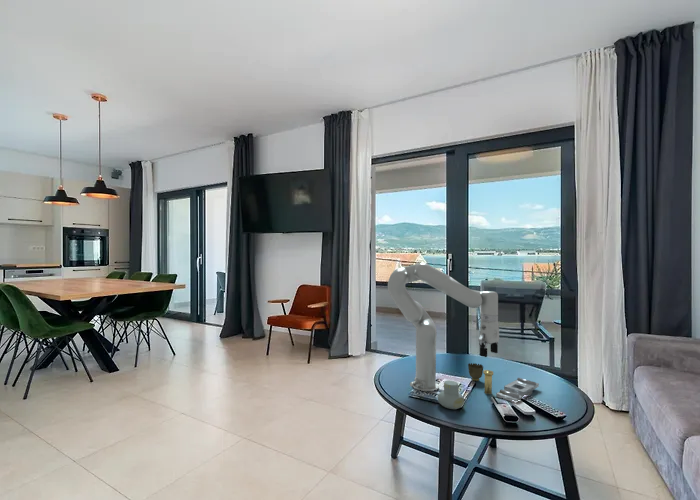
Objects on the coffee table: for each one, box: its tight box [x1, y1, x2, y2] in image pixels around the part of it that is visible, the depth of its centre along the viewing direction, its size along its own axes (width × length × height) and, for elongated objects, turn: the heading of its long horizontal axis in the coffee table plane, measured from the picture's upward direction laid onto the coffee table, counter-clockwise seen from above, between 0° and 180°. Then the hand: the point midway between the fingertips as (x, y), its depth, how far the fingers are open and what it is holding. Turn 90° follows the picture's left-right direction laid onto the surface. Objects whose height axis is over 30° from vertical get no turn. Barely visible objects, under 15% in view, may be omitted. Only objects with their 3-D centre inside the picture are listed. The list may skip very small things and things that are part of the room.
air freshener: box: [437, 380, 465, 410], centre depth 149 cm, size 11×8×10 cm
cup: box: [467, 362, 484, 382], centre depth 179 cm, size 8×7×8 cm
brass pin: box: [483, 369, 494, 395], centre depth 163 cm, size 4×4×10 cm
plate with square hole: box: [495, 377, 540, 402], centre depth 164 cm, size 24×9×4 cm, turn 131°
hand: (488, 354), depth 163 cm, fingers open, 9 cm apart
